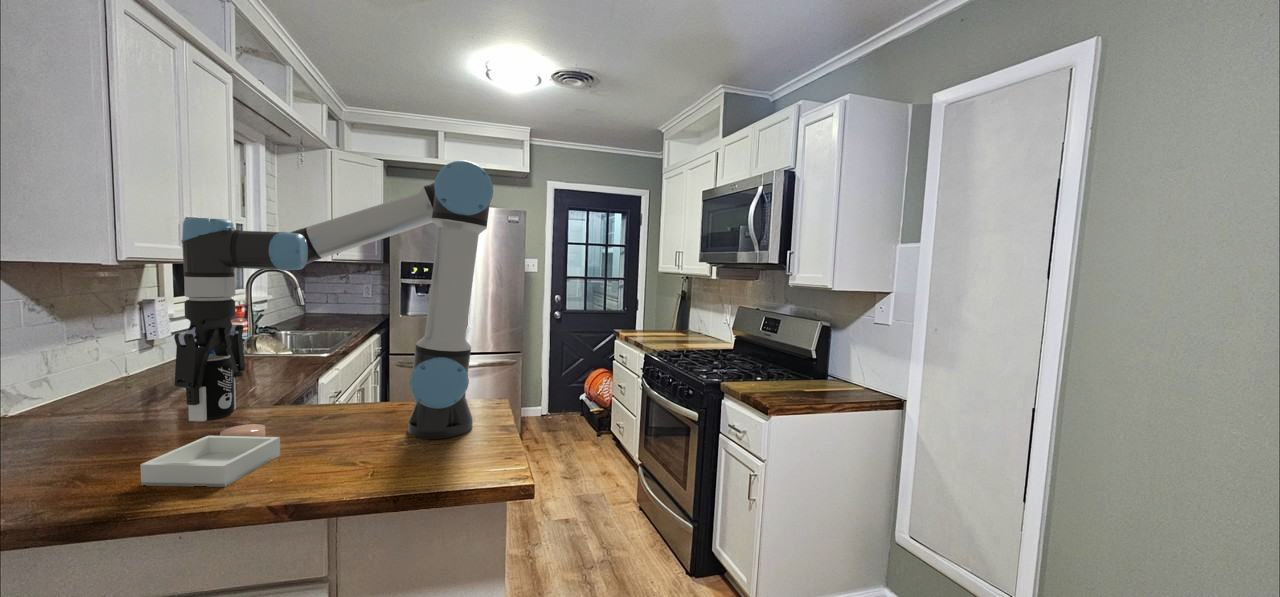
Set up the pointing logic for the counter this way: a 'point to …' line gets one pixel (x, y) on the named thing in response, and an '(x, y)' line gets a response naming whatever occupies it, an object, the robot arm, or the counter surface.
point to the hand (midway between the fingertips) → (213, 414)
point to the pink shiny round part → (245, 431)
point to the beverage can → (219, 387)
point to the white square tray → (210, 461)
